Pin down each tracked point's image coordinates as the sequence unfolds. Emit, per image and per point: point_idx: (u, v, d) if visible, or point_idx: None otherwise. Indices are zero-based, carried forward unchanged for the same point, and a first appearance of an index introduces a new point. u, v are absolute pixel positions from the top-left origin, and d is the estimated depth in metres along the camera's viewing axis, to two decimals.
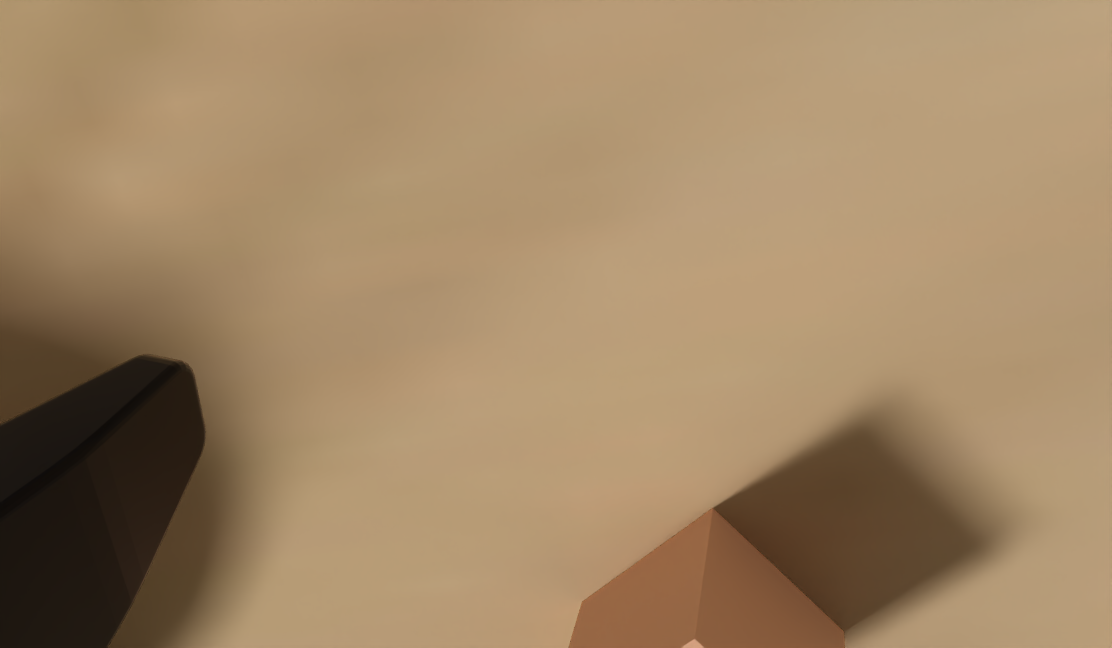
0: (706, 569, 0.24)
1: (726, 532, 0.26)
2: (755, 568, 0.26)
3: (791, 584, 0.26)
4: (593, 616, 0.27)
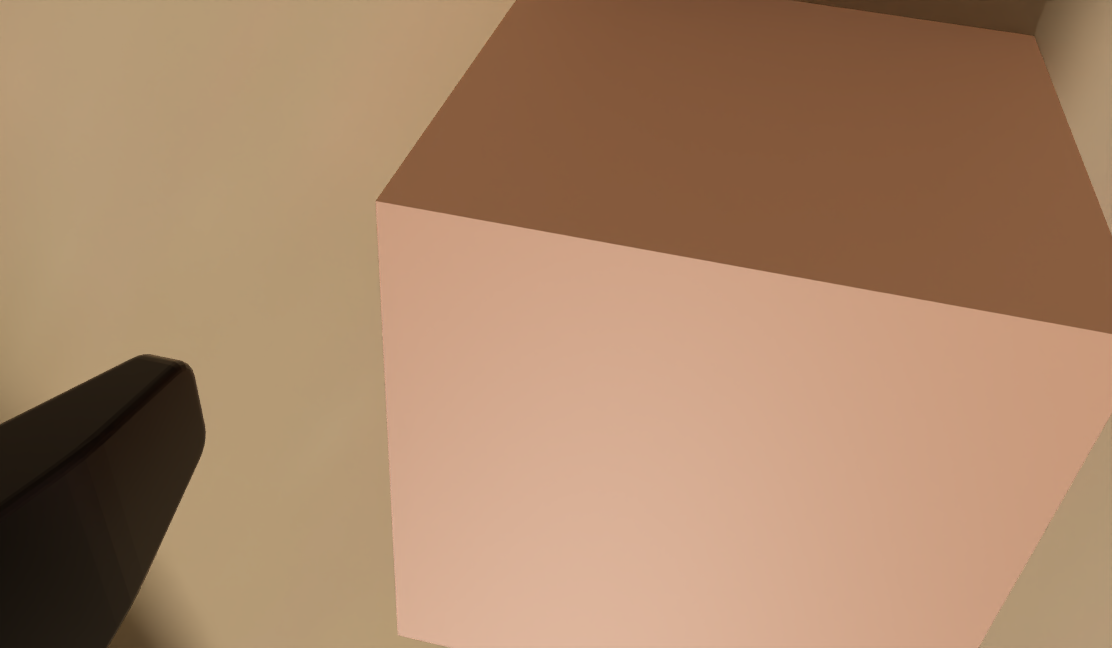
0: (484, 58, 0.09)
1: None
2: (689, 15, 0.10)
3: (826, 9, 0.10)
4: None
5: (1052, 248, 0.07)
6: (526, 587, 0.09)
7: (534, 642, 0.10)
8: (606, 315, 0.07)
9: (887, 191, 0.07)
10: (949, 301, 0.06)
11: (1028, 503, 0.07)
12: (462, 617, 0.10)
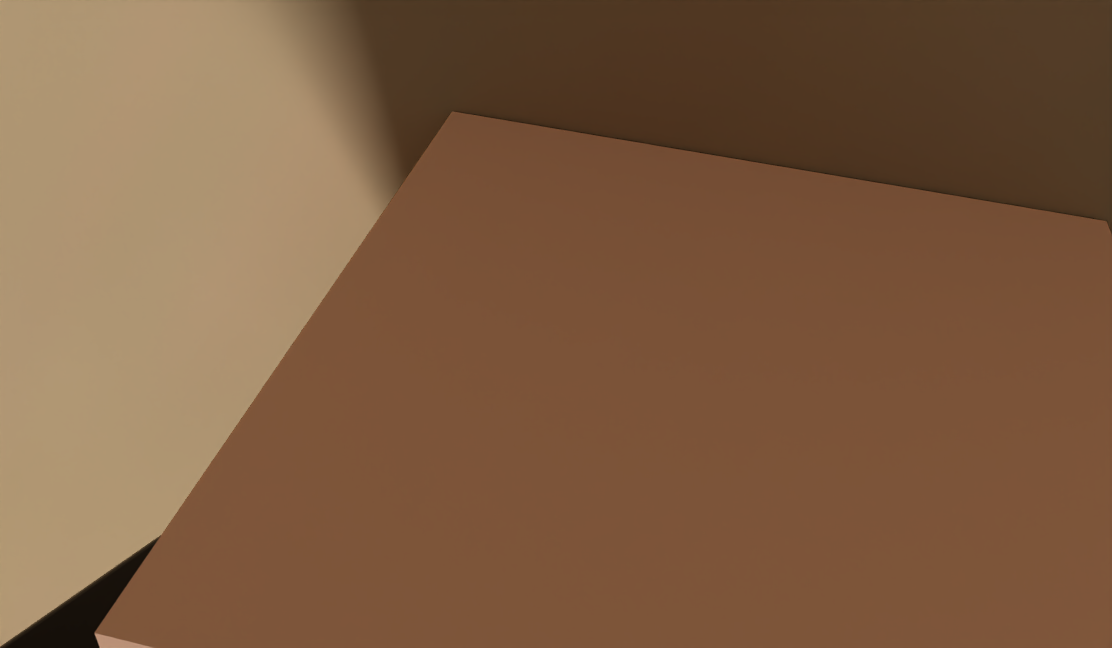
0: (336, 297, 0.06)
1: (501, 154, 0.08)
2: (640, 201, 0.07)
3: (826, 186, 0.08)
4: None
5: None
6: None
7: None
8: None
9: (918, 570, 0.05)
10: None
11: None
12: None
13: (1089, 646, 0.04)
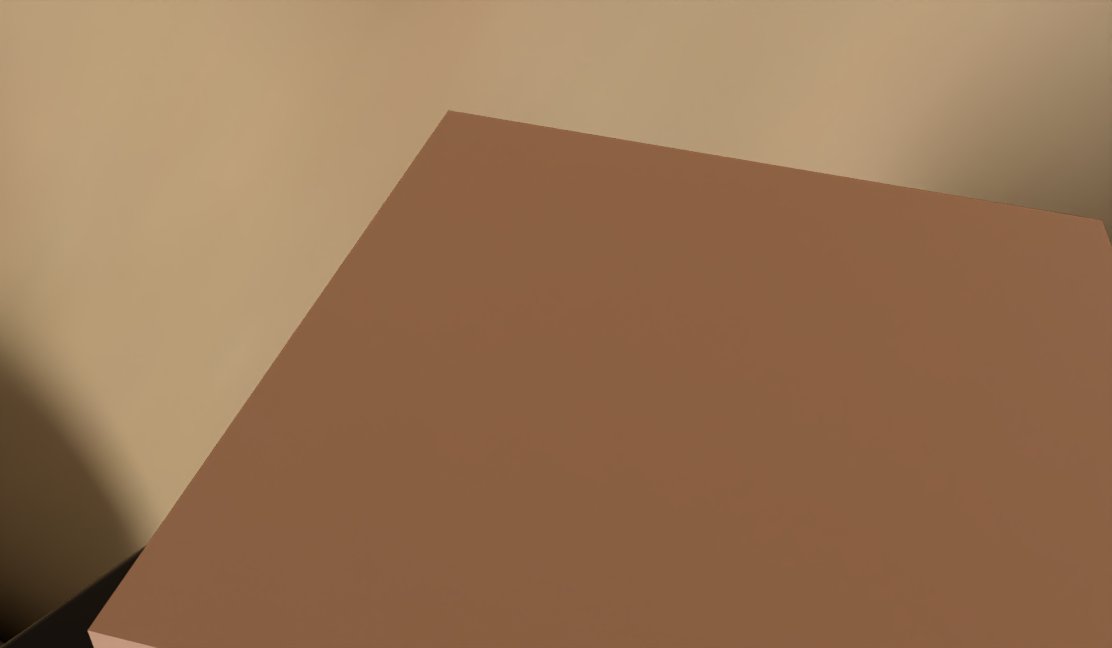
0: (332, 294, 0.06)
1: (498, 153, 0.08)
2: (636, 200, 0.07)
3: (822, 184, 0.08)
4: None
5: None
6: None
7: None
8: None
9: (911, 567, 0.05)
10: None
11: None
12: None
13: (1081, 644, 0.05)
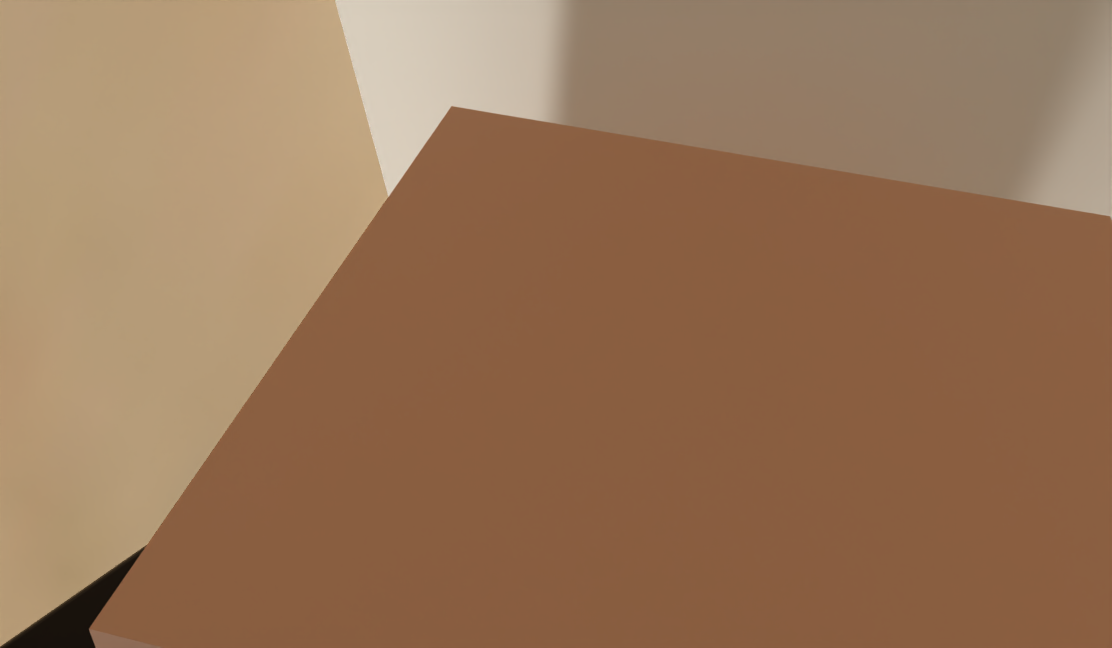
0: (335, 290, 0.06)
1: (501, 149, 0.08)
2: (641, 196, 0.07)
3: (828, 181, 0.08)
4: None
5: None
6: None
7: None
8: None
9: (921, 565, 0.05)
10: None
11: None
12: None
13: (1095, 642, 0.04)
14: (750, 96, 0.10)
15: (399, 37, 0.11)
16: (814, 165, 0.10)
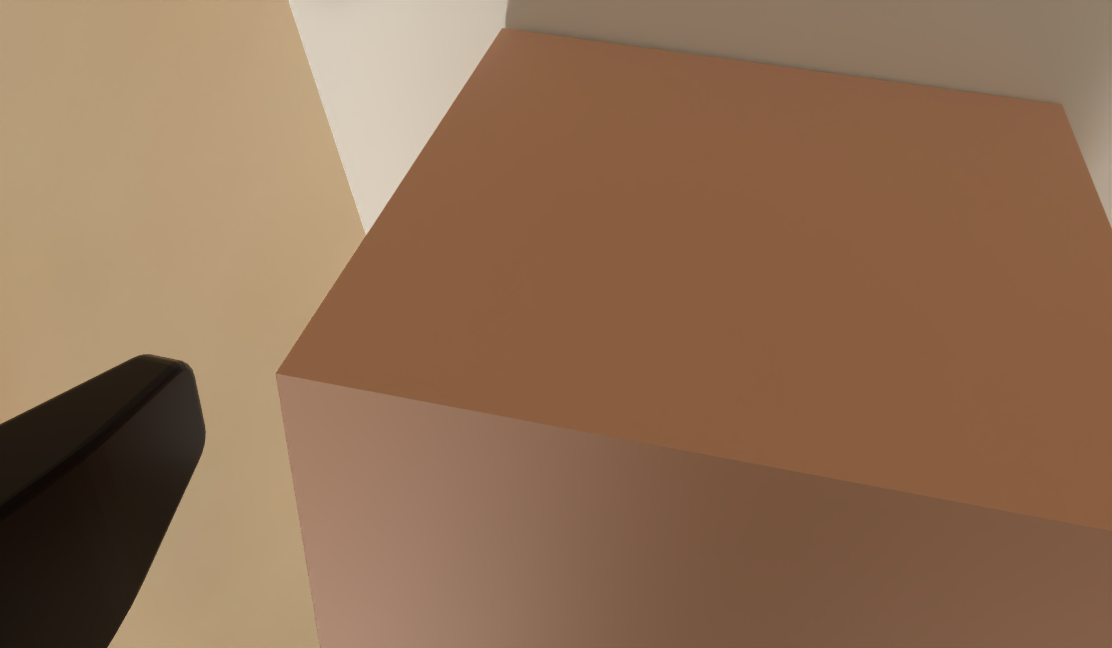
0: (425, 160, 0.07)
1: (547, 59, 0.09)
2: (667, 94, 0.09)
3: (824, 81, 0.09)
4: None
5: (1106, 414, 0.06)
6: None
7: None
8: (563, 502, 0.06)
9: (901, 335, 0.06)
10: (984, 502, 0.05)
11: None
12: None
13: (1032, 382, 0.06)
14: None
15: (371, 84, 0.10)
16: None
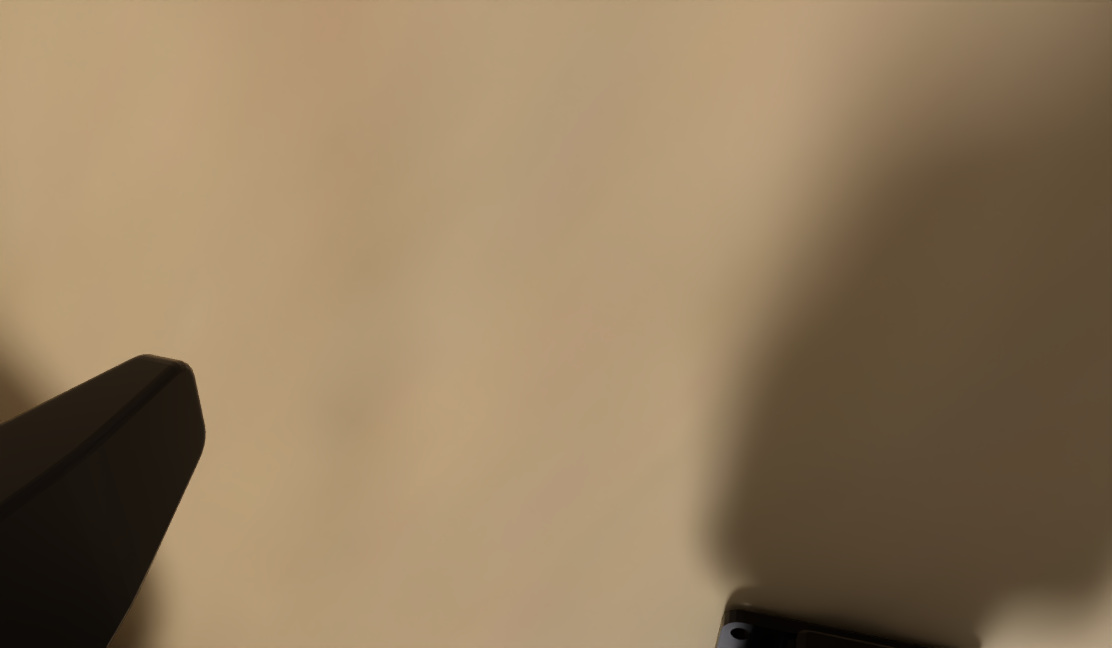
0: None
1: None
2: None
3: None
4: None
5: None
6: None
7: None
8: None
9: None
10: None
11: None
12: None
13: None
14: None
15: None
16: None
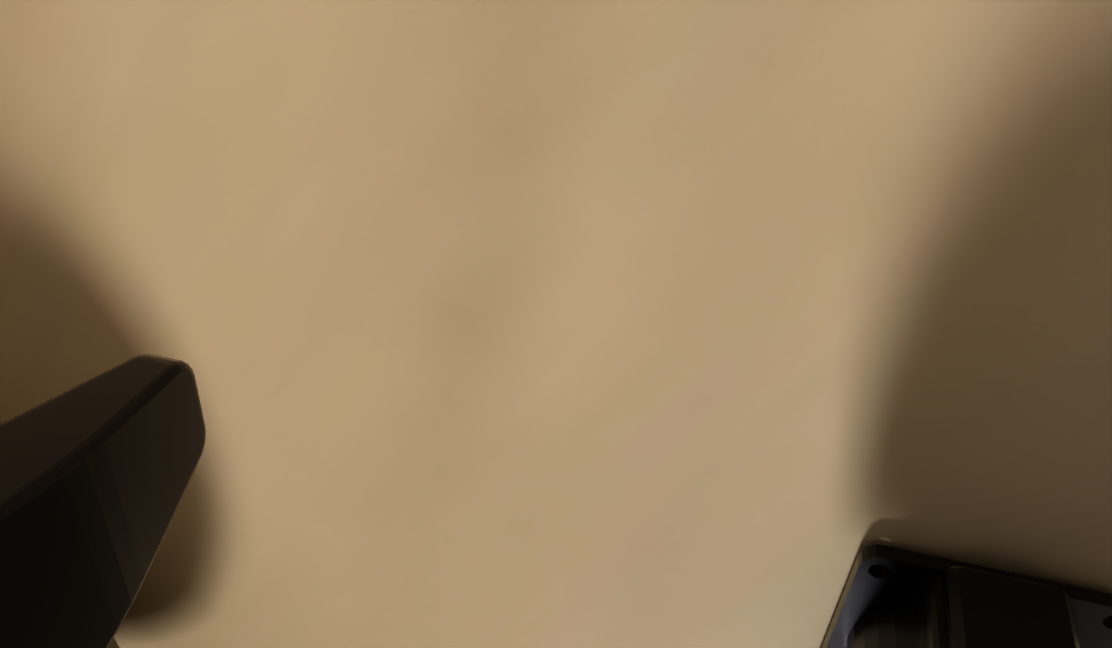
0: None
1: None
2: None
3: None
4: None
5: None
6: None
7: None
8: None
9: None
10: None
11: None
12: None
13: None
14: None
15: None
16: None
